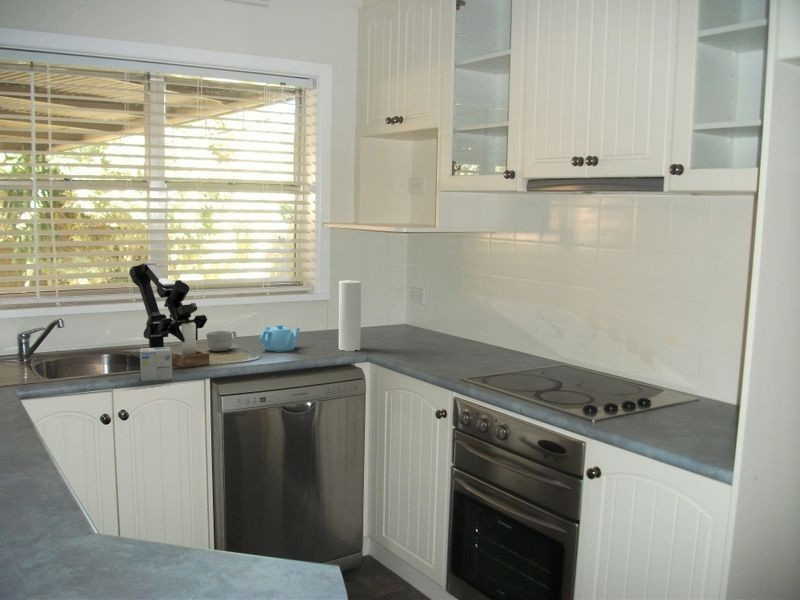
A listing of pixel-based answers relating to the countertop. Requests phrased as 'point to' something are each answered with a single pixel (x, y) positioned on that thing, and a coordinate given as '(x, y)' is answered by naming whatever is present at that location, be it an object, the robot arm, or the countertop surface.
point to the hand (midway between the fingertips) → (190, 340)
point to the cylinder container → (349, 315)
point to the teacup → (220, 340)
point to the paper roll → (189, 339)
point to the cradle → (190, 359)
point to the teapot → (279, 338)
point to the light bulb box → (156, 364)
